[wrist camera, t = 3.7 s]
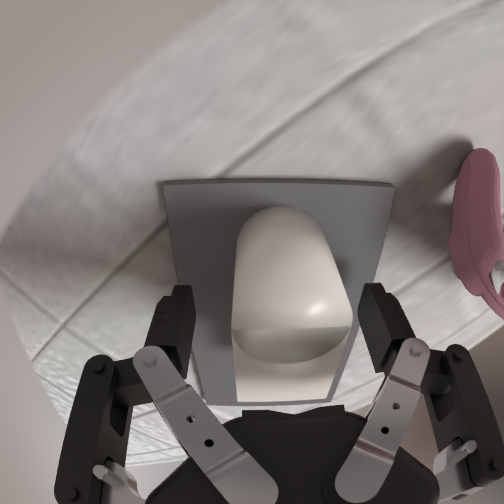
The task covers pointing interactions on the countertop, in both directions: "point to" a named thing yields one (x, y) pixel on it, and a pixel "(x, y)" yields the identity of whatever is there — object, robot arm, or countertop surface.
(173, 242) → the rubber mat
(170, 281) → the countertop surface
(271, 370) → the plug block
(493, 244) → the video game controller
